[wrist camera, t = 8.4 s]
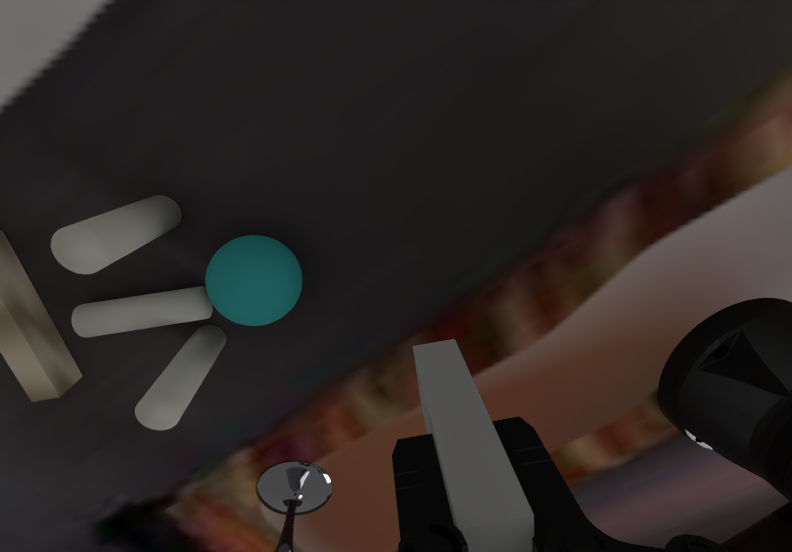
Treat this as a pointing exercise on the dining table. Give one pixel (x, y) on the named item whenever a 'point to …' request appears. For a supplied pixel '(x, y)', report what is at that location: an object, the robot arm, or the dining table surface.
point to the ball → (253, 280)
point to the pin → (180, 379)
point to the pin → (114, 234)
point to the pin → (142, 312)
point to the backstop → (31, 334)
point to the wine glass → (293, 494)
